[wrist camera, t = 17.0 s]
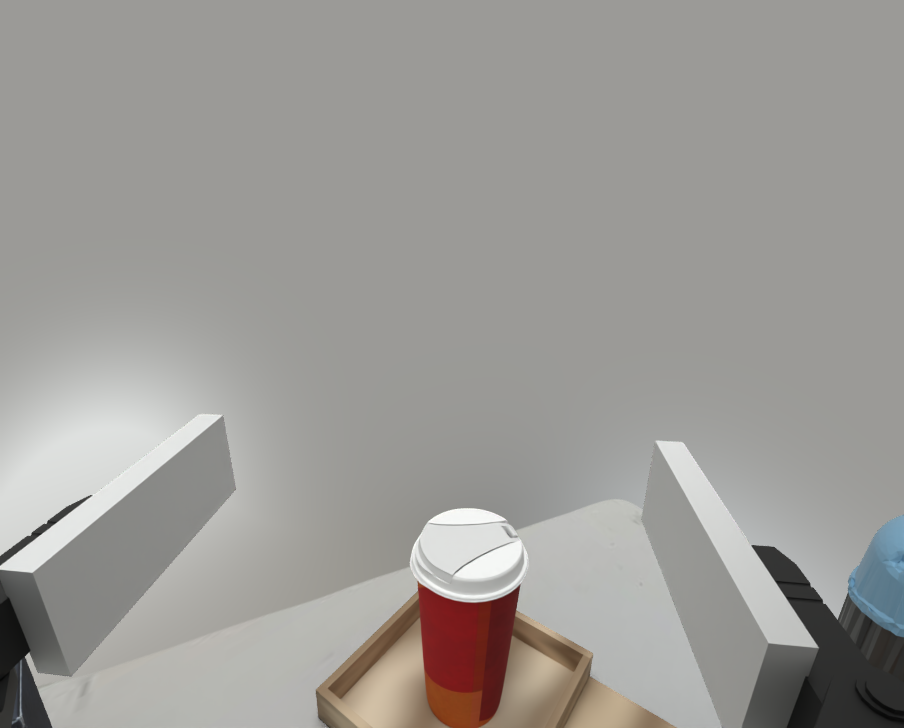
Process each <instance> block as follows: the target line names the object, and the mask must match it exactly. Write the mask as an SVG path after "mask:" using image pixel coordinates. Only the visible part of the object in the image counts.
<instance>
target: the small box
mask: <svg viewBox="0 0 904 728" xmlns="http://www.w3.org/2000/svg"><path fill="white" fill-rule="evenodd" d="M15 670H16V672H17V676H18V686H17V692H16V699H15V705H14V712H13V718H12V725H11V728H52V726H51V723H50V720H49V718H48V715H47V713H46V710H45V708H44V705H43V702H42V700H41V697H40V695H39V692H38V690H37V686H36V685H35V682H34V679H33V676H32V674H31V671H30V669H29V666H28V664H27V661H26V659H25V657H24V658H23V659H22V660H21V661H20V662H19V663H18V664H17V665H16V666H15Z"/></svg>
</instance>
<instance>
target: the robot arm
mask: <svg viewBox="0 0 904 728" xmlns="http://www.w3.org/2000/svg"><path fill="white" fill-rule="evenodd" d="M235 490H236V487H235V481H234V475H233V469H232V463H231V458H230V452H229V447H228V441H227V435H226V429H225V424H224V418H223V415H212V414H199V415H198V416H197V417H195V418H194V419H193V420H191V421H190V422H189V423H187V424H186V425H185V426H184V427H182V428H181V429H180V430H178V431H177V432H176V433H174V434H173V435H172V436H170V437H169V438H168V439H166V440H165V441H164V442H162V443H161V444H160V445H158V446H157V447H156V448H154V449H153V450H152V451H150V452H149V453H148V454H147V455H145V456H144V457H143V458H141V459H140V460H139V461H137V462H136V463H135V464H133V465H132V466H131V467H129V468H128V469H127V470H126V471H124V472H123V473H122V474H120V475H119V476H118V477H117V478H115V479H114V480H112V481H111V482H110V483H108V484H107V485H106V486H105V487H103V488H102V489H101V490H99V491H98V492H97V493H95V494H94V495H90V496H88V497H86V498H84V499H82V500H80V501H78V502H76V503H74V504H72V505H69V506H68V507H66V508H65V509H63V510H62V511H60V512H59V513H58V514H56V515H55V516H54V517H52V518H51V519H50V520H48V522H47V524H43V525H42V526H40V527H39V528H37V529H36V530H35V531H33V532H32V535H31V536H27V537H25V538H24V539H23V540H21V541H20V542H19V543H17V544H16V545H15V546H13V547H12V548H11V549H9V550H8V551H7V552H5V553H4V554H2V555H1V556H0V728H11V725H12V718H13V712H14V705H15V699H16V692H17V686H18V676H17V672H16V670H15V666H16V665H17V664H18V663H19V662H20V661H21V660H22V659H23V658H24V657H25V656H26V655H27V654H28V653H29V652H30V655H31V657H32V659H33V662H34V665H35V667H36V670H37V672H38V673H45V674H53V675H62V676H70V677H71V676H72V675H73V674H74V673H75V672H76V671H77V670H78V668H79V667H80V666H81V665H82V664H83V663H84V662H85V661H86V659H87V658H88V657H89V656H90V655H91V654H92V652H93V651H94V650H95V649H96V648H97V647H98V646H99V645H100V643H101V642H102V641H103V640H104V639H105V638H106V637H107V635H108V634H109V633H110V632H111V631H112V630H113V629H114V628H115V626H116V625H117V624H118V623H119V622H120V621H121V619H122V618H123V617H124V616H125V615H126V614H127V613H128V612H129V610H130V609H131V608H132V607H133V606H134V605H135V604H136V602H137V601H138V600H139V599H140V598H141V597H142V596H143V595H144V593H145V592H146V591H147V590H148V589H149V588H150V587H151V585H152V584H153V583H154V582H155V581H156V579H158V577H159V576H160V575H161V574H162V573H163V572H164V571H165V569H166V568H167V567H168V566H169V565H170V564H171V563H172V561H173V560H174V559H175V558H176V557H177V556H178V555H179V554H180V552H181V551H182V550H183V549H184V548H185V547H186V546H187V544H188V543H189V542H190V541H191V540H192V539H193V538H194V537H195V535H196V534H197V533H198V532H199V531H200V530H201V529H202V527H203V526H204V525H205V524H206V523H207V522H208V521H209V519H210V518H211V517H212V516H213V515H214V514H215V513H216V511H217V510H218V509H219V508H220V507H221V506H222V505H223V504H224V502H225V501H226V500H227V499H228V498H229V497H230V496H231V494H232V493H233V492H234V491H235ZM641 520H642V522H643V525H644V528H645V530H646V533H647V535H648V538H649V540H650V543H651V546H652V548H653V551H654V553H655V556H656V558H657V561H658V563H659V566H660V569H661V571H662V574H663V576H664V579H665V581H666V584H667V587H668V589H669V592H670V594H671V597H672V599H673V602H674V605H675V607H676V610H677V612H678V615H679V617H680V620H681V623H682V625H683V628H684V630H685V633H686V635H687V638H688V640H689V643H690V646H691V648H692V651H693V653H694V656H695V658H696V661H697V664H698V666H699V669H700V671H701V674H702V676H703V679H704V682H705V684H706V687H707V689H708V692H709V694H710V697H711V699H712V702H713V705H714V707H715V710H716V712H717V715H718V717H719V720H720V723H721V725H722V728H904V515H902V516H899V517H896V518H894V519H892V520H890V521H889V522H887V523H886V524H885V525H883V526H882V527H881V528H880V529H879V530H878V532H877V533H876V534H875V536H874V537H873V539H872V541H871V543H870V545H869V547H868V549H867V551H866V553H865V555H864V557H863V559H862V561H861V563H860V565H859V566H857V567H856V568H855V569H854V570H853V572H852V573H851V575H850V577H849V580H848V583H849V586H848V594H847V597H846V599H845V602H844V604H843V607H842V610H841V612H840V615H839V618H838V620H837V619H836V617H835V616H834V615H833V613H832V612H831V611H830V609H829V608H828V607H827V605H826V604H823V600H822V599H821V597H820V596H819V594H818V593H817V592H816V590H815V589H814V588H812V587H811V586H810V582H809V581H808V580H807V579H806V577H805V576H804V574H803V573H802V572H801V570H800V569H799V568H798V566H797V565H796V564H795V563H794V562H792V561H791V560H790V559H789V558H787V557H786V556H785V555H784V554H782V553H781V552H780V551H778V550H777V549H776V548H775V547H769V546H756V545H750V543H749V542H748V540H747V539H746V537H745V536H744V534H743V533H742V531H741V529H740V528H739V526H738V525H737V524H736V522H735V520H734V519H733V517H732V516H731V514H730V513H729V511H728V510H727V508H726V507H725V505H724V504H723V502H722V501H721V499H720V498H719V496H718V495H717V493H716V492H715V490H714V489H713V487H712V486H711V484H710V483H709V481H708V480H707V478H706V477H705V475H704V474H703V472H702V471H701V469H700V467H699V466H698V464H697V463H696V461H695V460H694V458H693V457H692V455H691V454H690V452H689V451H688V449H687V448H686V446H685V445H684V444H683V442H670V441H655V444H654V450H653V456H652V462H651V467H650V473H649V478H648V485H647V490H646V496H645V501H644V507H643V513H642V518H641Z"/></svg>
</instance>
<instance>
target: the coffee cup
mask: <svg viewBox="0 0 904 728" xmlns="http://www.w3.org/2000/svg"><path fill="white" fill-rule="evenodd" d="M410 567H411V570H412V572H413V574H414V576H415V578H416V579H417V580H418V594H419V608H420V622H421V636H422V650H423V663H424V675H425V685H426V694H427V700H428V703H429V706H430V708H431V710H432V712H433V714H434V715H435V716H436V717H437V718H438V719H439V720H440V721H441V722H442V723H444V724H445V725H447V726H449V727H451V728H479V727H481V726H483V725H485V724H486V723H487V722H489V721H490V720H491V719H492V717H493V716H494V715H495V713H496V711H497V709H498V707H499V704H500V700H501V696H502V690H503V685H504V680H505V674H506V668H507V663H508V657H509V651H510V645H511V639H512V633H513V626H514V620H515V614H516V608H517V602H518V596H519V590H520V584H521V583H522V581H523V580H524V578H525V576H526V573H527V570H528V555H527V552H526V549H525V547H524V546H523V543H522V541H521V540H520V539H519V536H518V534H517V533H516V532H515V530H514V529H513V527H512V526H511V525H508V522H507V520H506V519H504V518H503V517H501V516H499V515H497V514H494V513H492V512H489V511H485V510H481V509H471V508H462V509H454V510H450V511H446V512H444V513H441V514H439V515H437V516H435V517H434V518H432V519H431V520H430V521H428V523H427V524H426V526H425V527H424V529H423V531H422V534H421V535H420V536H419V538H418V539H417V541H416V542H415V544H414V547H413V549H412V555H411V559H410Z"/></svg>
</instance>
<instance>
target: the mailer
mask: <svg viewBox="0 0 904 728" xmlns="http://www.w3.org/2000/svg"><path fill="white" fill-rule="evenodd" d="M592 658H593V653H592V652H590V651H588V650H586V649H584V648H583V647H581V646H579V645H577V644H575V643H574V642H572V641H570V640H568V639H567V638H565V637H563V636H561V635H559V634H558V633H556V632H554V631H552V630H550V629H549V628H547V627H545V626H543V625H542V624H540V623H538V622H536V621H534V620H533V619H531V618H529V617H527V616H525V615H524V614H522V613H520V612H518V611H517V610H516V614H515V620H514V626H513V633H512V639H511V645H510V651H509V657H508V663H507V668H506V674H505V680H504V685H503V690H502V696H501V700H500V704H499V707H498V709H497V711H496V713H495V715H494V716H493V717H492V719H491V720H490V721H489V722H487V723H486V724H485V725H483V726H481V727H479V728H676V727H675V726H673V725H671V724H670V723H668V722H666V721H664V720H663V719H661V718H659V717H658V716H656V715H654V714H653V713H651V712H649V711H647V710H646V709H644V708H642V707H641V706H639V705H637V704H636V703H634V702H632V701H631V700H629V699H627V698H625V697H624V696H622V695H620V694H619V693H617V692H615V691H614V690H612V689H610V688H608V687H607V686H605V685H603V684H602V683H600V682H598V681H597V680H595V679H593V678H591V677H590V670H591V664H592ZM316 697H317V707H318V717H319V718H320V719H321V720H322V721H323V722H324V723H325V724H326V725H327V726H328V727H329V728H451V727H449V726H447V725H445V724H444V723H442V722H441V721H440V720H439V719H438V718H437V717H436V716H435V715H434V714H433V712H432V710H431V708H430V706H429V703H428V700H427V694H426V685H425V675H424V663H423V650H422V636H421V622H420V608H419V594H418V592H416V593H415V594H414V595H413V596H412V597H411V598H410V599H409V600H408V601H407V602H406V603H405V604H404V605H403V606H402V607H401V608H400V609H399V610H398V611H397V612H396V613H395V614H394V615H393V616H392V617H391V618H390V619H389V620H388V621H387V622H385V623H384V624H383V625H382V626H381V627H380V628H379V629H378V630H377V631H376V632H375V633H374V634H373V635H372V636H371V637H370V638H369V639H368V640H367V641H366V642H365V643H364V644H363V645H362V646H361V647H360V648H359V649H358V650H357V651H356V652H354V653H353V654H352V655H351V656H350V657H349V658H348V659H347V660H346V661H345V662H344V663H343V664H342V665H341V666H340V667H339V668H338V669H337V670H336V671H335V672H334V673H333V674H332V675H331V676H330V677H329V678H328V679H327V680H326V681H325V682H324V683H322V684H321V685H320V686H319V687H318V688H317V689H316Z"/></svg>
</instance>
